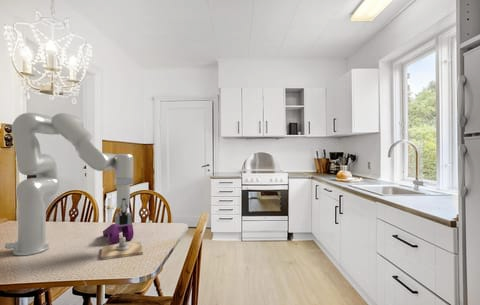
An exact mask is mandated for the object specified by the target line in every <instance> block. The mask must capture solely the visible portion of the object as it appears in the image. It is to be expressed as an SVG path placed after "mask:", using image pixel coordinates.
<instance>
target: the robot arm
mask: <svg viewBox="0 0 480 305" xmlns="http://www.w3.org/2000/svg"><path fill="white" fill-rule="evenodd" d="M11 134H12V139H13V142H14V148H15V157H16V165H17V170H18V172H19V173H20V174H21V175H24V176H36V177H30V178H26V179H24V180H22V181H20V182H19V183H18V184H17V187H16V188H15V189H16V190H15V193H16V194H15V195H16V198H17V203H18V204H17V206H18V214H17V217H18V223H17V241H15V242H9V243H8V242H7V243H5V244H4V248H5V249H6V250H9V249H12V255H14V256H29V255H30V256H31V255H36V254H39V253H43V252H45V251H47V250H49V248H50V245H49V243H46V226H47V225H46V223H47V222H46V221H47V207H46V206H47V205H46V204H45V201H44V199H45V198H49V197H53V196H54V195H56V194H57V193H58V190H59V187H60V183H59V182H60V181H59V174H58V166H57V163H56V159H54V157H52V156H51V155H50V154H46V153H42V152H41V145H40V142H39V140H38V138H37V136H36V134H43V135H60V136H62V137H63V138H64V139H66V141H67V142H69V143H70V144H71V145H72V146H73V148H74V149H75V152H76V154H77V155H78V157H79V158H80V159H81V160H82V161H83V162H84V163H85V165H87V166H89V167H90V168H91V169H92V170H95V171H98V172H102V171H113V170H114V186H116V209H117V210H119V213H120V218H119V224H120V225H125V224H128V215H127V213H128V209H129V207H130V198H131V195H130V194H131V186H133V185H134V156H133V154H130V153H118V154H116V153H110V152H102V151H100V150H99V149H98V148H97V147H96V146H94V145H93V142H91V140H92V134H91V133H90V132H89V131H88V130H87V129H86V128H85V127H84V122H83V121H82V119H81V118H80V117H78V116H76V115H72V114H69V113H64V112H60V113H56V114H55V115H53V116H50V115H44V114H40V113H37V112H24V113H22V114H19V115H18V116H17V117H15V119H14V120H13V122H12V125H11ZM119 213H118V214H119Z"/></svg>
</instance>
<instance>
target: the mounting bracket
mask: <svg viewBox="0 0 480 305" xmlns="http://www.w3.org/2000/svg"><path fill="white" fill-rule="evenodd" d="M121 233H122V234H121ZM102 234H103V237H107V238H108V239H107V240H108V242H109V243H110V244H111V245H114V244H117V243H118V242H119V240H120V234H121V235H122V237H125V242H126V241H131V240H132V239H133V238H134V234H135V233H134V226H133V224H132V225H122V226H115V223H111V224H110V225H109V226H108V227H107V228H105V229H104V230H103V231H102Z"/></svg>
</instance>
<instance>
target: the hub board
mask: <svg viewBox="0 0 480 305" xmlns="http://www.w3.org/2000/svg"><path fill="white" fill-rule="evenodd" d="M118 242H119V243H118V244H111V245H110V244H109V245H102V246H101V247H102V249H101V255H100V260H101V261H103V260H110V259H118V258H126V257H133V256H141V255H144V251H143V248H142V243H141V241H138V242H128V243H126V240H125V237H123V236H121V237H119V240H118Z"/></svg>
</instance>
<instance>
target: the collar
mask: <svg viewBox="0 0 480 305" xmlns="http://www.w3.org/2000/svg"><path fill="white" fill-rule="evenodd" d="M114 215H115V216H114V217H115V218H114V220H115V221H114V222H115V223H114V224H115V226H122V225H120V224H119V218H120V213H115V214H114ZM127 215H128V224H125V225H133V220H132V219H133V216H132V215H133V214H132V212H127Z"/></svg>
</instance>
